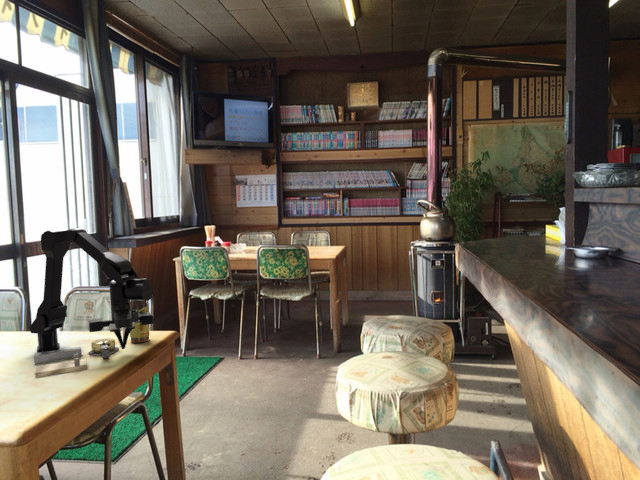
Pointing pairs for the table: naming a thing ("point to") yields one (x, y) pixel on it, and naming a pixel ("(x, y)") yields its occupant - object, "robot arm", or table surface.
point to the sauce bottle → (139, 323)
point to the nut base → (101, 353)
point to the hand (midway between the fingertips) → (123, 348)
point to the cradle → (61, 367)
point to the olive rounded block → (103, 346)
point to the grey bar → (56, 355)
